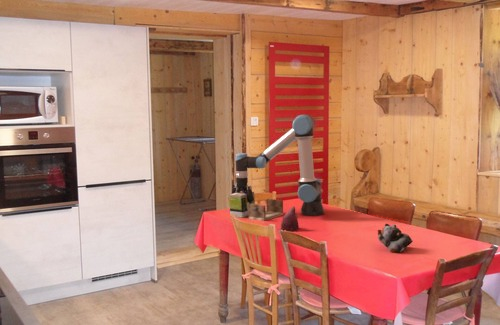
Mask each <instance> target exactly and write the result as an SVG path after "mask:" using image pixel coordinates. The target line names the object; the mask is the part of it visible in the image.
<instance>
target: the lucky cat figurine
mask: <svg viewBox="0 0 500 325" xmlns="http://www.w3.org/2000/svg"><path fill="white" fill-rule="evenodd" d="M377 238H378V240H379V242H380V243H381V244H383V246H385V248H386V249H388V251H389V252H391V253H392V254H393V253H394V254H400V253H401V252H403V251H405V249H406V248H408V247H409V246H410V245H411V244H412V243H413V242H414V241H413V240H412V238H411V236H410V235H408V233H404V232H403V233H402V231H401V229H400V228H398V227H397V225H396V224H393V225H391V224H388V223H385V224H384V226H383V227H382V229H377Z"/></svg>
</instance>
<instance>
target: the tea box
mask: <svg viewBox="0 0 500 325" xmlns="http://www.w3.org/2000/svg"><path fill="white" fill-rule="evenodd" d="M252 193H253V197H254V201H252V204H256V200H255V198H256V197H255V191H252ZM248 194H249V193H248ZM248 194H244V192H242V191H241V192H239V193H233V194H232V193H231V194H229V195H228V198H229V216H230V215H231V214H235V216H236V217H235V218H241V219H242V218H246V217H249V212H247V202H248V200H247V195H248Z"/></svg>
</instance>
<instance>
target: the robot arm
mask: <svg viewBox="0 0 500 325" xmlns="http://www.w3.org/2000/svg"><path fill="white" fill-rule="evenodd" d="M291 127H292V128H290V129H289V130H288V131H287V132H286V133H284V134H283V135H282V136H280V137H279V138H278V139H277V140H275V141H274V142H273V143H272V144H270V145H269V146H268V147H267V148H266V149H264V150H263V151H262V152H261V153H260V154H258V155H255V156H248V153H245V152H239V153H236V154H235V177H236V178H235V182H236V184H232V191H231V194H233V193H239V192H241V191H242V192H244V194H248V193H249V194H248V195H247V200H248V202H247V212H249V204H252V201H254V197H253V193H252V192H253V191H252V188H253V187H252V185H248V183H249V181H248V180H249V179H248V173H249V172H248V169H259V170H261V169H265V168H266V165H267V164H269V162H271V161H272V160H273V159H274V158H275V157H277V155H279V154H280V153H281V152H283V151H284V150H285V149H287V148H288V147H289V146H290V145H292V144H293V143H295V141H296V140H297V149H298V150H297V151H298V163H299V165H298V166H299V173H300V175H299V176H300V177H299V179H298V180H297V181H298V182H297V183H298V189H297V196H298V198H299V199H300V201H301V202H303V203H302V205H301V208H300V214H301V215H304V216H311V217H312V216H313V217H315V216H322V215H324V214H325V209H324V205H323V202H322V184H323V183H322V180H321V179H320V178H316V177H315V171H314V157H313V155H314V154H313V143H312V138H314V136H315V135H314V128H315V127H316V120H315V119H314V117H313V116H312V115H310V114H300V115H297V116H296V117H295V118H294V120H293V121H292V126H291Z"/></svg>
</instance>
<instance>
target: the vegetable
mask: <svg viewBox="0 0 500 325" xmlns="http://www.w3.org/2000/svg"><path fill="white" fill-rule="evenodd" d="M299 227H300V226H299V221H298V216H297V214H296V206H292V207H291V208H289V210H288V211H287V212H285V214H284V215H283V217H282V220H281V224H280V230H281V229H282V230H281V231H284V230H286V231H285V232H295V231H298V230H299Z"/></svg>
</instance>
